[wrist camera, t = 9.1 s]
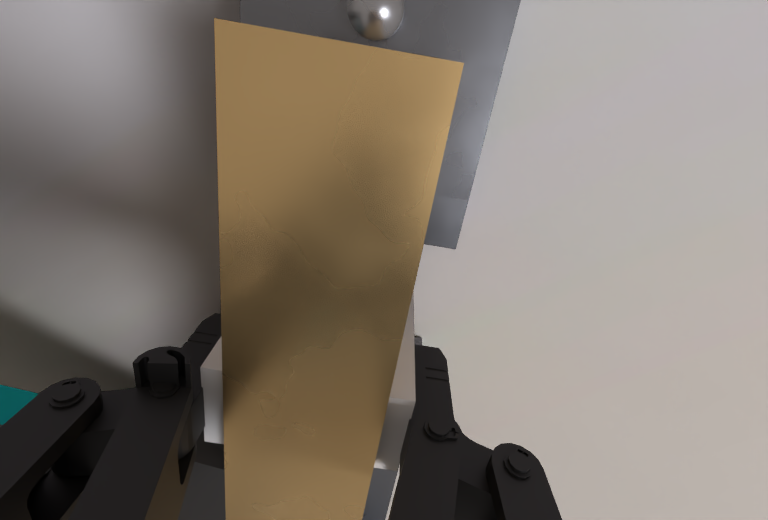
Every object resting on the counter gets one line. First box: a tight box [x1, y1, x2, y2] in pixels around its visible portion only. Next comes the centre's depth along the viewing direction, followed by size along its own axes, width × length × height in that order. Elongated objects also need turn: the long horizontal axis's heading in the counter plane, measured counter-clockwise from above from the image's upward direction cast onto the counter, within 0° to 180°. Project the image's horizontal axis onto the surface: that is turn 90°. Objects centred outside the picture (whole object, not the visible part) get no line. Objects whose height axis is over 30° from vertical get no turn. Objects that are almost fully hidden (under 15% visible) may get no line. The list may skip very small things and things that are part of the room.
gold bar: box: [214, 18, 464, 520], centre depth 14 cm, size 18×4×8 cm, turn 171°
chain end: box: [240, 0, 521, 249], centre depth 14 cm, size 8×8×3 cm
